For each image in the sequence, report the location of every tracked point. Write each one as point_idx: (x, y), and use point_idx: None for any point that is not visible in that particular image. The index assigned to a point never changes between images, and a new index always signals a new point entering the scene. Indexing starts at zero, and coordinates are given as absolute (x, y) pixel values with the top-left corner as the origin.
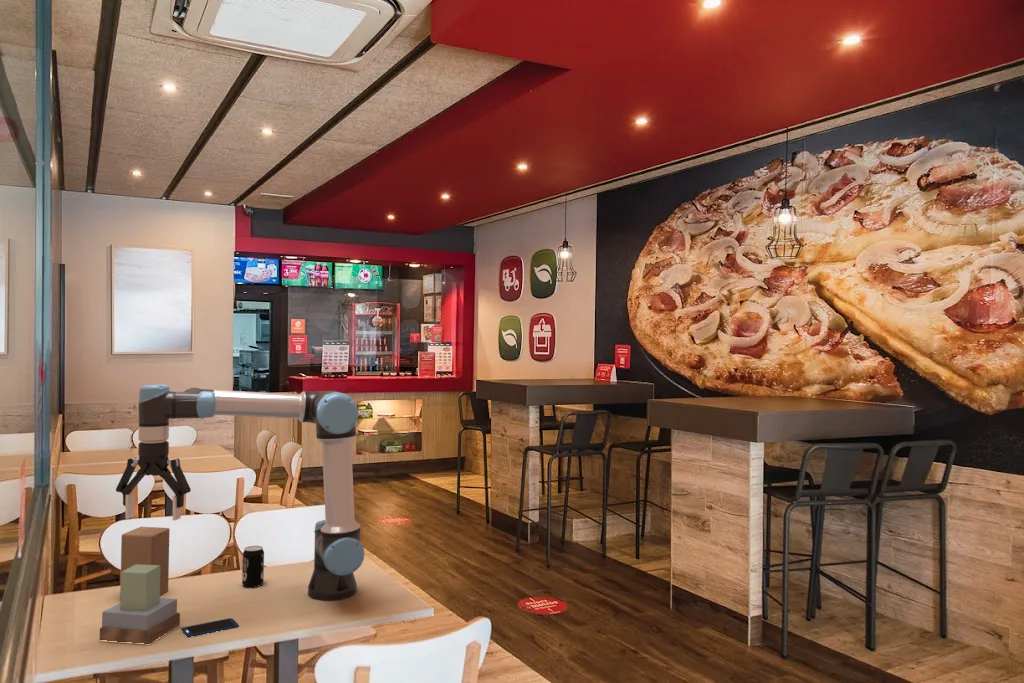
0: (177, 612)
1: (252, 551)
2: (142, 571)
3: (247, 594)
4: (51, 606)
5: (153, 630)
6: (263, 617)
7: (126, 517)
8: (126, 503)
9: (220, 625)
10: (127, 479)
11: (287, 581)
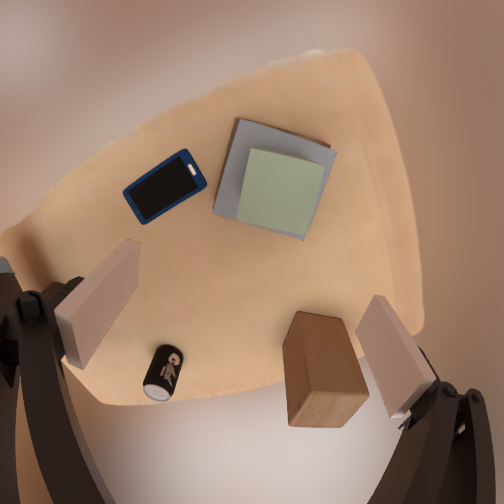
0: None
1: (152, 384)
2: (266, 165)
3: (161, 322)
4: (418, 297)
5: (233, 128)
6: (104, 229)
7: (382, 299)
8: (411, 343)
9: (148, 192)
10: (454, 468)
11: (132, 357)
